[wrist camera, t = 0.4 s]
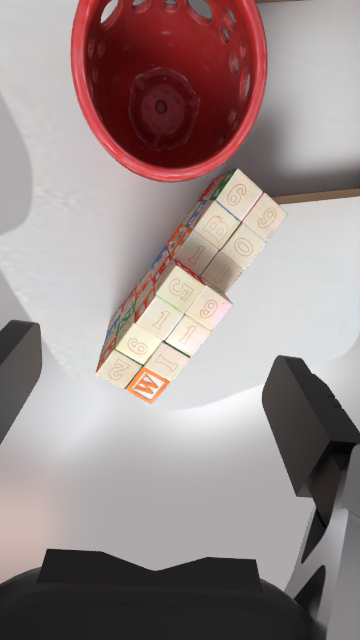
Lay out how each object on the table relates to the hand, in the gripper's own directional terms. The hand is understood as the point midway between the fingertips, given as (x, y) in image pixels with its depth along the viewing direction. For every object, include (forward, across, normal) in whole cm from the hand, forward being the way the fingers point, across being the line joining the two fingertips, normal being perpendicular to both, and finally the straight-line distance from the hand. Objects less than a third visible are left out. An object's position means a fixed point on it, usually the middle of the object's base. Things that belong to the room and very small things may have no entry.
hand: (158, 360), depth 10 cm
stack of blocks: (+27, -2, +6) cm, 27 cm away
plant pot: (+28, +2, -9) cm, 30 cm away
